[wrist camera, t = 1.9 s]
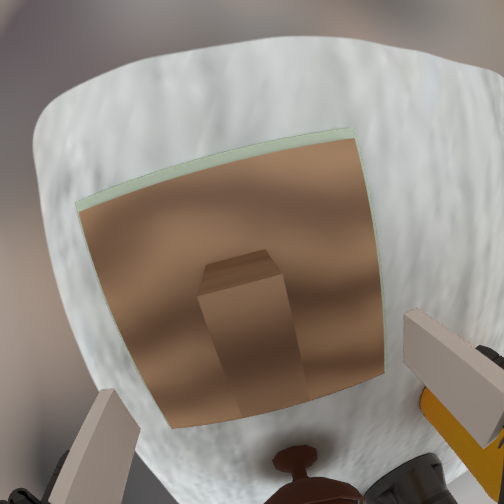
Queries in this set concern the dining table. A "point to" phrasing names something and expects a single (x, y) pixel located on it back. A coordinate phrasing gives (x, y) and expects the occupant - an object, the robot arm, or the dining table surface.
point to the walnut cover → (245, 282)
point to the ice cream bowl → (309, 481)
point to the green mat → (219, 160)
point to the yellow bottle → (467, 445)
